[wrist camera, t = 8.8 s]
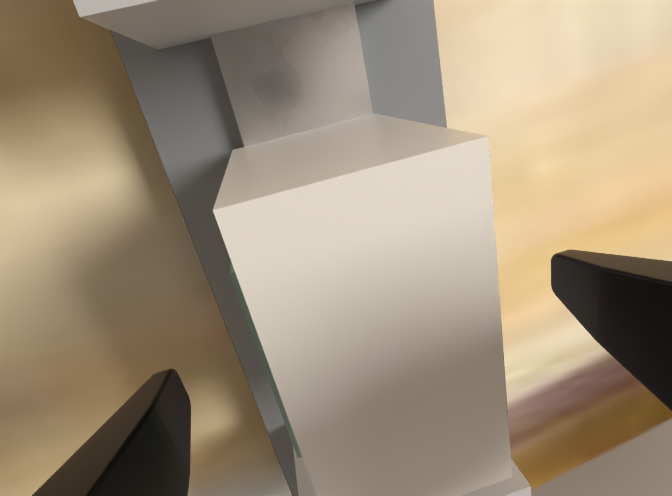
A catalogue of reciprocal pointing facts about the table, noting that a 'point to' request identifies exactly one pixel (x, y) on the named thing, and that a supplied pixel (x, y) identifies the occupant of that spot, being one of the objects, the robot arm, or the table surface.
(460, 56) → the table surface
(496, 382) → the block
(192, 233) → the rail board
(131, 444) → the robot arm
